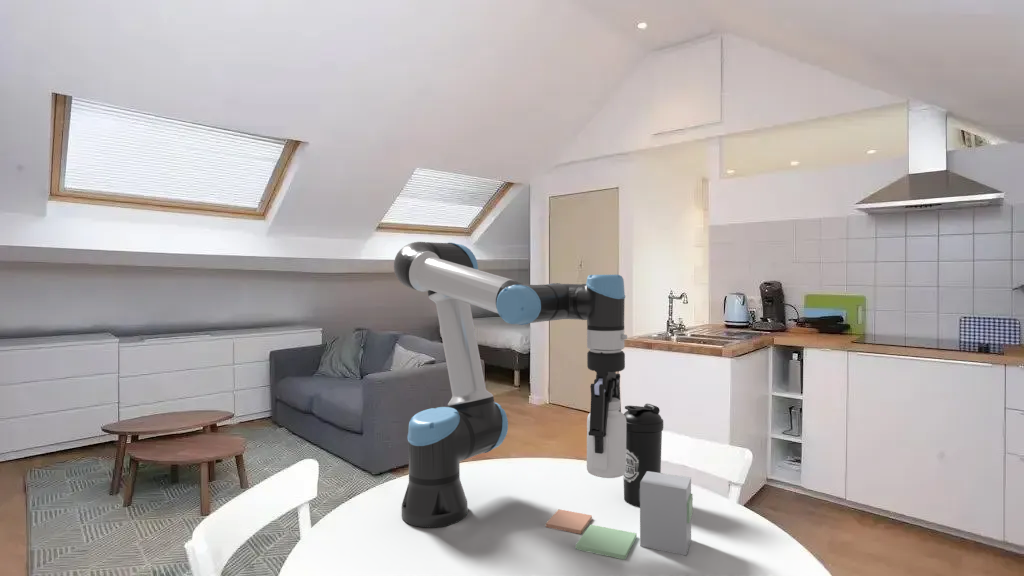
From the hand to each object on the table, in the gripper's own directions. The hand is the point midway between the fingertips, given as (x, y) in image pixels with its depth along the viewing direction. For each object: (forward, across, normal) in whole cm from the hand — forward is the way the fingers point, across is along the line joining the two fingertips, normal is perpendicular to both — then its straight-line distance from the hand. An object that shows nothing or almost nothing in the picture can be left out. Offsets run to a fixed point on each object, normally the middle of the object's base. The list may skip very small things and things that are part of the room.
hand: (606, 461), depth 113 cm
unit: (+17, +5, -11) cm, 21 cm away
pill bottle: (+2, 0, 0) cm, 2 cm away
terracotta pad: (+17, +6, +10) cm, 20 cm away
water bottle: (+17, +24, -2) cm, 30 cm away
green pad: (+17, 0, 0) cm, 17 cm away
